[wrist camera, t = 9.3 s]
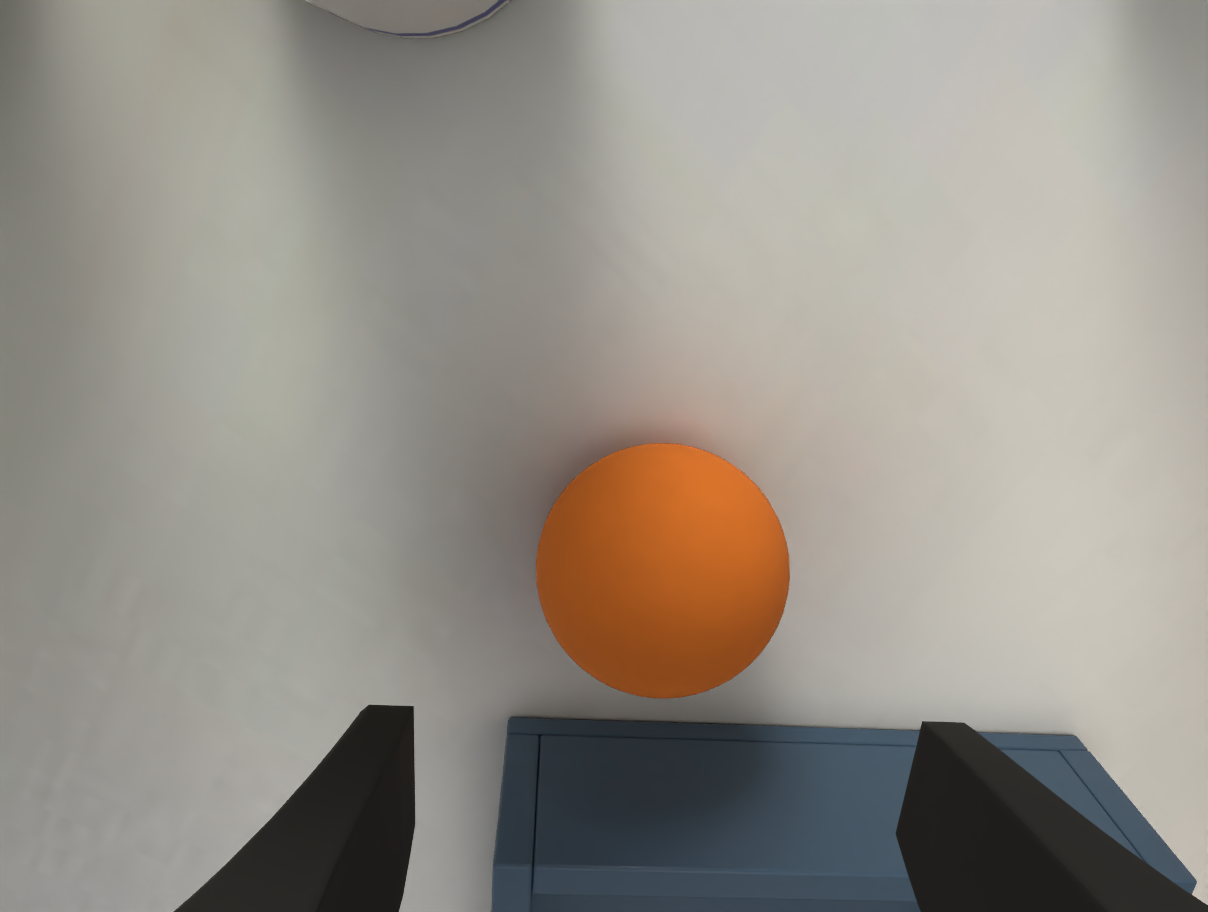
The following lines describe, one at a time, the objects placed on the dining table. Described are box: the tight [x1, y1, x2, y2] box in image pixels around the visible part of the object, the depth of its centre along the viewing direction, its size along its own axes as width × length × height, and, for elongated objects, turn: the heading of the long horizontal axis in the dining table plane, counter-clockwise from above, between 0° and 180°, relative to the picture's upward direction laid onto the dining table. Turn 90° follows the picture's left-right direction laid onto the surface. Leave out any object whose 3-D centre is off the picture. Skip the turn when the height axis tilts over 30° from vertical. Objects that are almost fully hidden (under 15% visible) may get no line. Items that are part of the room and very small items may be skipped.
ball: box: [536, 443, 790, 698], centre depth 17 cm, size 5×5×5 cm
